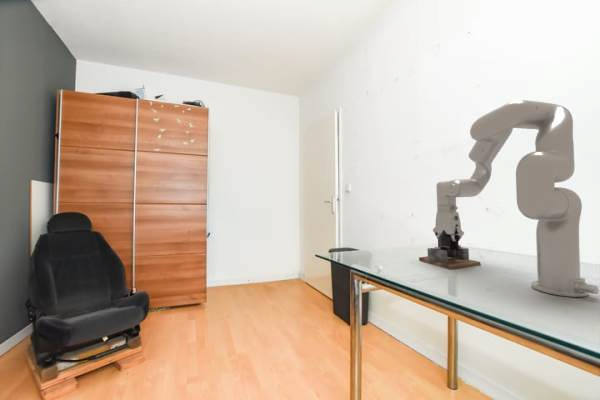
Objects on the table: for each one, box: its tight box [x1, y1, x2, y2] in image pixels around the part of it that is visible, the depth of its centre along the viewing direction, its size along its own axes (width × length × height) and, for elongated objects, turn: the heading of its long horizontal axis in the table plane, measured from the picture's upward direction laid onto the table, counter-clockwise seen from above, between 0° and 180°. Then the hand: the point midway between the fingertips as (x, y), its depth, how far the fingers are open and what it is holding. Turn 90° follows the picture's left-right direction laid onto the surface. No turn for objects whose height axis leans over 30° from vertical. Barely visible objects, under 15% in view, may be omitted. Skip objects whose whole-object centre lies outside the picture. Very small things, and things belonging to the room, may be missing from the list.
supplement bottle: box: [439, 230, 457, 257], centre depth 120 cm, size 7×7×12 cm
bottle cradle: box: [418, 244, 481, 270], centre depth 120 cm, size 18×16×8 cm
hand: (448, 248), depth 120 cm, fingers closed on supplement bottle, 6 cm apart
